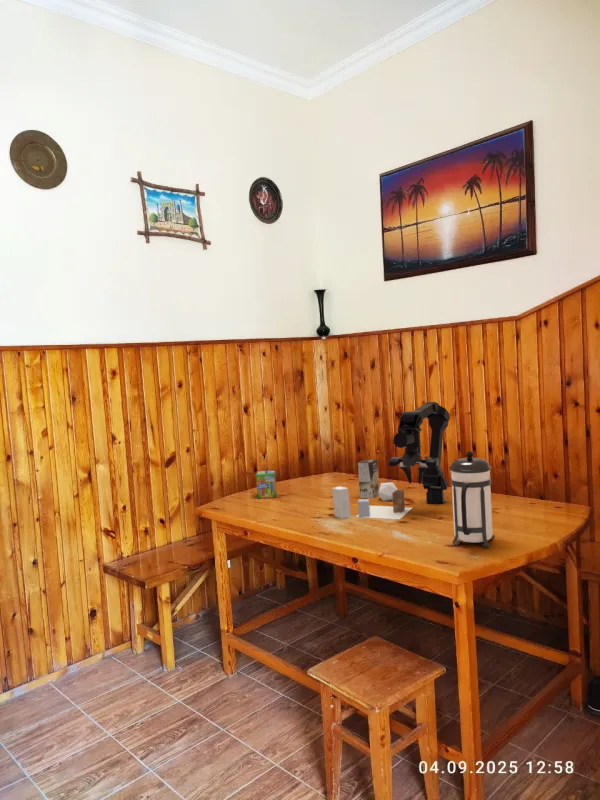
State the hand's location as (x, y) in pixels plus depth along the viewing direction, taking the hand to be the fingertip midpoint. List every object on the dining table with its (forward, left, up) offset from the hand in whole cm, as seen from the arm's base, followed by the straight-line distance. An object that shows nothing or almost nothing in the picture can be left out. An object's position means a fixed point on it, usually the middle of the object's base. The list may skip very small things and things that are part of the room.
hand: (414, 483), depth 235 cm
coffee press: (-28, +32, -12) cm, 44 cm away
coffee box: (+28, -26, -12) cm, 40 cm away
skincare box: (+26, +12, -12) cm, 32 cm away
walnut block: (+7, 0, -11) cm, 13 cm away
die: (+17, -19, -12) cm, 29 cm away
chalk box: (+76, -17, -12) cm, 79 cm away
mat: (+12, +2, -12) cm, 17 cm away
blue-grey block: (+18, +8, -11) cm, 23 cm away
